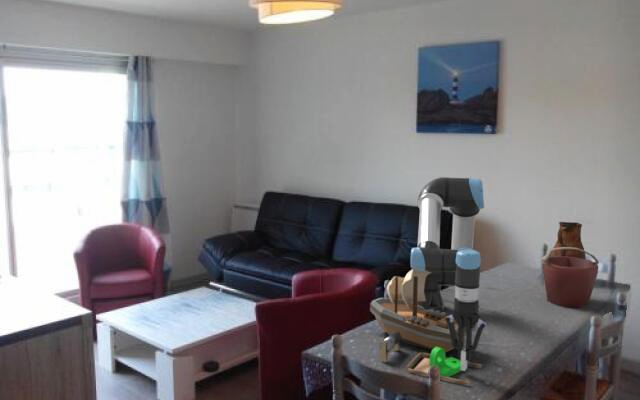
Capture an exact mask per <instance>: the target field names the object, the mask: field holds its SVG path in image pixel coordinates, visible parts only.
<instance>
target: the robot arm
mask: <svg viewBox="0 0 640 400" xmlns="http://www.w3.org/2000/svg"><path fill="white" fill-rule="evenodd" d="M417 197H418V198H417V207H418V208H419V209H418V210H419V218H418V219H419V220H418V232H417V235H418V236H417V247H412V248H411V250H410V268H411V270H412V269H415V270H422V271H428V272H432V273H430V274H428V275H427V277H426V279H425V285H424V295H425V299H426V301H418V302H417V305H419V306H421V307H423V308H424V309H425V310H430V309H434V311H440V312H444V309H445V302H444V298H443V295H442V292H441V291H442V290H441V287H442V286H445V287H446V286H447V287H454V297H455V298H454V302H453V312H452V313H451V314H450V315H451V316H450V315H447V316H445V317H446V319H445V320H446V322H447V324H448V326H449V331H450V336H451V341H452V346H453V347H455V348H456V349H457V359H458V360H461V366H460V370H462V371H463V372H466V370H467V369H468V366H467V362H470V360H471V359H472V358H471V357H472V352H475V351H476V349H477V348H478V346H479V342H480V339H481V336H482V333H483V330H484V328H485V327H486V325H487V324H488V323H487V321H483V320H482V319H480V318H481V317H480V315H479V308H480V307H479V306H480V302H479V299H480V277H481V265H482V261H481V253H480V252H479V251H477V250H475V249H473V247H474V239H475V238H474V235H475V223H476V216H477V215H478V214H479V213H480V211H481V210H482V209H484V208H485V201H484V188H483V181H482V180H481V178H478V177H477V178H475V177H446V176H445V177H444V176H443V177H437V178H434V179H432V180H431V181H429V182H428V183H427V184H426V185H424V187H423V188H422V189H421V190H420V193H419V195H418V196H417ZM443 208H449V211H450V213H451V214H452V228H451V229H452V231H451V248H450V249H449V248H447V249H446V248H440V242H441V241H440V240H441V210H442V209H443ZM412 303H413V302H412ZM454 319H455V321H456V323H457V324H458V340H457V335H456V330H455V326H454V322H453V321H454ZM475 324H476V325H477V327H478V328H477V330H476V332H475V335H474V339H473V340H472V338H473V332H472V328H473V326H474V325H475ZM464 327H466V335H465V342H464ZM472 342H473V343H472ZM464 343H465V345H464ZM464 346H465V347H464ZM462 371H461V372H462Z"/></svg>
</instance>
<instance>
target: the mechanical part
mask: <svg viewBox="0 0 640 400" xmlns="http://www.w3.org/2000/svg"><path fill="white" fill-rule="evenodd" d="M429 354H430V358H429V359H430V365H429V367H430V366H432V365H436V366H438V367H439V369H440V375H441V376H445V377H450V378H451V376H454V375H455V374H458V373H460V372H462V370H460V366H461V361H460V360H461V359H458V358H455V357H453V356H451V357H448V359H446V360H445V357H446V352H445V350H444V349H442V348H439V347H435V348H434V349H433V350H432V351H431V352H430V353H429Z"/></svg>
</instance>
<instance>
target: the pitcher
mask: <svg viewBox="0 0 640 400" xmlns="http://www.w3.org/2000/svg"><path fill="white" fill-rule="evenodd" d="M558 224H559V227H558V228H559V229H558V232H557V240H556V242H555V244H554V246H553V248H559V247H573V248H579V249H581V250H584V251H585V247H584V245H583V243H582V235H581V233H582V227H583V224H581V223H580V222H575V221H574V222H570V221H568V222H566V221H560V222H558ZM563 256H569V257H575V258H581V259H587V258H586V253H584V252H581V251H579V250H571V249H566V250H558V251H553V252H552V254H551V256H550V257H563Z"/></svg>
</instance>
